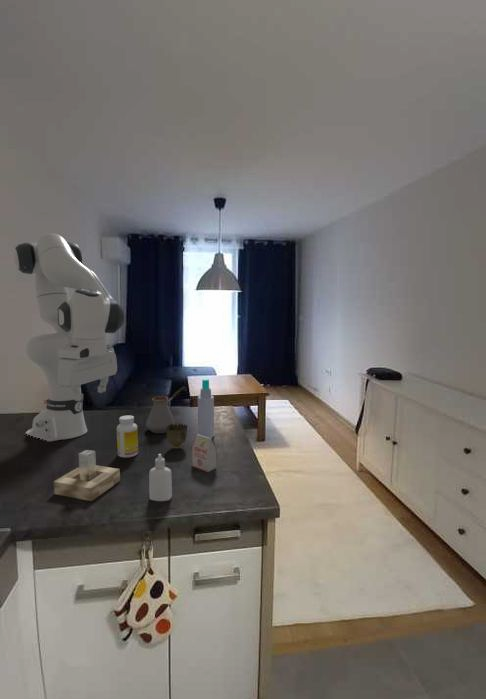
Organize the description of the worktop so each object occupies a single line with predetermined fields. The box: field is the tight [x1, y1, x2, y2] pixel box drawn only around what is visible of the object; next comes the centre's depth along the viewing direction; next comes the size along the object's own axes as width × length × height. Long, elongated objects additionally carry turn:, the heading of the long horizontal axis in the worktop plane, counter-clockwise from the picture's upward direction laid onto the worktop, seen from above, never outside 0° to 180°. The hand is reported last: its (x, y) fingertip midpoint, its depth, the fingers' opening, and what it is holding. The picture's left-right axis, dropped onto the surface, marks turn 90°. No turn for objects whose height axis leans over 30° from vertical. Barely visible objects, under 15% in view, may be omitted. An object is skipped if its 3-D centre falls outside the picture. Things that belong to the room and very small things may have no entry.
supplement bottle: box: [116, 415, 139, 459], centre depth 128 cm, size 7×7×13 cm
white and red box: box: [191, 433, 217, 473], centre depth 119 cm, size 4×7×10 cm, turn 52°
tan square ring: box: [53, 464, 121, 502], centre depth 106 cm, size 12×12×4 cm
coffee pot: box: [145, 385, 188, 434], centre depth 157 cm, size 21×12×15 cm, turn 150°
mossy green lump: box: [165, 422, 188, 451], centre depth 134 cm, size 8×7×8 cm
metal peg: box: [78, 449, 97, 481], centre depth 106 cm, size 3×3×10 cm
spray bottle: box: [197, 378, 215, 439], centre depth 145 cm, size 6×6×22 cm
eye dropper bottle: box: [148, 453, 173, 502], centre depth 100 cm, size 4×6×12 cm
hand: (90, 396), depth 109 cm, fingers open, 8 cm apart
